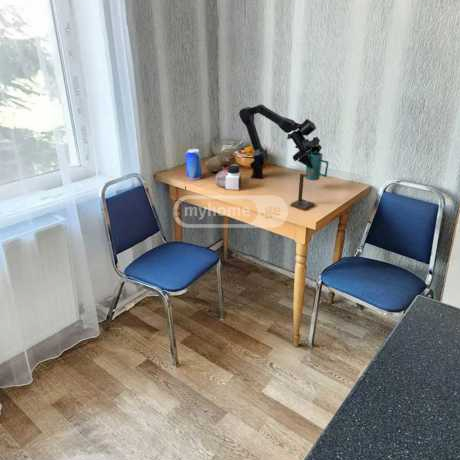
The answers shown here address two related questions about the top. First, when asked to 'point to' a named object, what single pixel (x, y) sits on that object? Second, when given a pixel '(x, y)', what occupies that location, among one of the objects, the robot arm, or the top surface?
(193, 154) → the beer can
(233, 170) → the medicine bottle
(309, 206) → the mug stand
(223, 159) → the brown rounded lump
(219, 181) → the food item
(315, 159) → the mug
